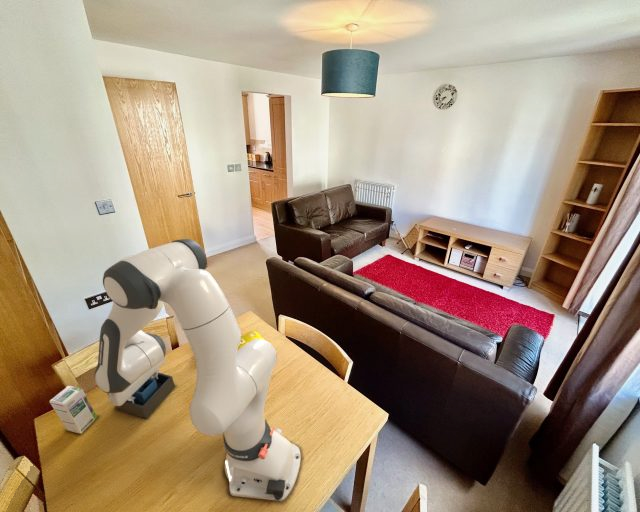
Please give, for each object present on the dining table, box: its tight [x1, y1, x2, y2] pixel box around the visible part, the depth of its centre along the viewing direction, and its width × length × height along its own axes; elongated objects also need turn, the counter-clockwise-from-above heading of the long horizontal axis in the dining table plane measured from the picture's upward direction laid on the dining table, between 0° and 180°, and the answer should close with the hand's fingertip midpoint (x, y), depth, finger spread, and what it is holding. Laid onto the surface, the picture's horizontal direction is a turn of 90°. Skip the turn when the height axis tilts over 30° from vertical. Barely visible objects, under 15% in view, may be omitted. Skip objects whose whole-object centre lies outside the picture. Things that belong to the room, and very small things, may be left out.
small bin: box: [132, 378, 158, 405], centre depth 98 cm, size 6×6×6 cm
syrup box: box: [49, 385, 98, 435], centre depth 87 cm, size 6×6×14 cm
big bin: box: [114, 372, 176, 419], centre depth 98 cm, size 13×13×6 cm
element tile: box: [237, 330, 265, 351], centre depth 119 cm, size 15×15×5 cm
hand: (144, 390), depth 98 cm, fingers open, 8 cm apart
